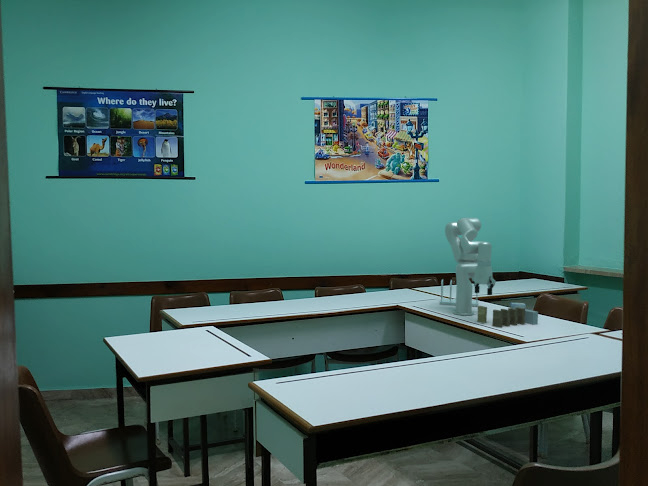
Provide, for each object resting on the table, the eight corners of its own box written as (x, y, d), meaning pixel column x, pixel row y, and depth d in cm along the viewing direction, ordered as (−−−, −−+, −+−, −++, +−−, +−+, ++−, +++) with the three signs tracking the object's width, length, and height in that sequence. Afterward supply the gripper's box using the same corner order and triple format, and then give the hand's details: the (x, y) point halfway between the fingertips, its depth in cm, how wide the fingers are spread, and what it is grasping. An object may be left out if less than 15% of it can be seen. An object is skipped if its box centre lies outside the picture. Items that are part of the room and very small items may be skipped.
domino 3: (507, 326, 345) (507, 310, 345) (500, 324, 350) (500, 309, 349) (509, 326, 346) (510, 310, 346) (502, 324, 351) (503, 308, 350)
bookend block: (532, 324, 353) (533, 312, 352) (518, 321, 361) (519, 309, 361) (537, 324, 355) (538, 311, 354) (523, 320, 363) (524, 309, 363)
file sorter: (478, 303, 427) (479, 280, 426) (478, 307, 410) (479, 283, 409) (440, 300, 433) (441, 278, 432) (439, 304, 416) (440, 281, 415)
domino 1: (483, 323, 354) (484, 307, 353) (477, 321, 359) (477, 306, 358) (486, 322, 355) (487, 307, 355) (479, 321, 360) (480, 305, 359)
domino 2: (499, 327, 342) (500, 311, 342) (492, 325, 347) (493, 309, 346) (502, 327, 343) (502, 311, 343) (494, 325, 348) (495, 309, 347)
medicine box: (523, 317, 375) (524, 303, 375) (525, 318, 371) (525, 304, 370) (510, 316, 376) (510, 302, 376) (511, 318, 372) (512, 303, 371)
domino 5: (522, 324, 352) (522, 308, 351) (514, 323, 356) (515, 307, 356) (524, 324, 353) (525, 308, 352) (517, 322, 357) (517, 307, 357)
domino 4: (514, 325, 349) (515, 309, 348) (507, 324, 353) (508, 308, 352) (517, 325, 350) (517, 309, 349) (509, 323, 354) (510, 308, 353)
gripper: (468, 262, 360) (467, 292, 361) (490, 265, 345) (489, 296, 346) (477, 262, 364) (476, 291, 365) (500, 265, 349) (499, 295, 350)
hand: (483, 293), depth 355 cm, fingers open, 9 cm apart
